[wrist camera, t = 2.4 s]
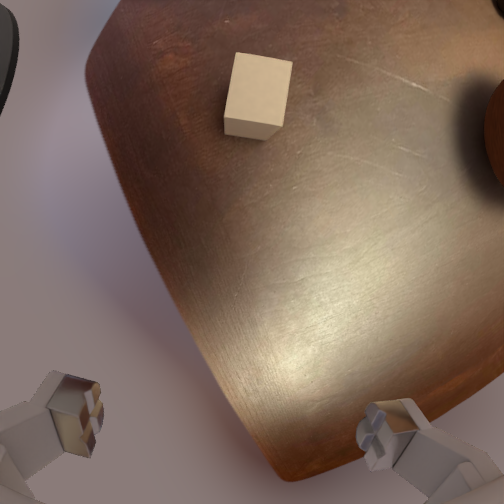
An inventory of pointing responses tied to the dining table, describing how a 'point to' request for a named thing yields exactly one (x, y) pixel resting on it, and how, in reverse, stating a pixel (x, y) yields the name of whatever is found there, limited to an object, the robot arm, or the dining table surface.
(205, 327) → the dining table surface
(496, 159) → the bowl
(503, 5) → the figurine
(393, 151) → the dining table surface
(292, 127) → the dining table surface
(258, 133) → the beige rectangular block
